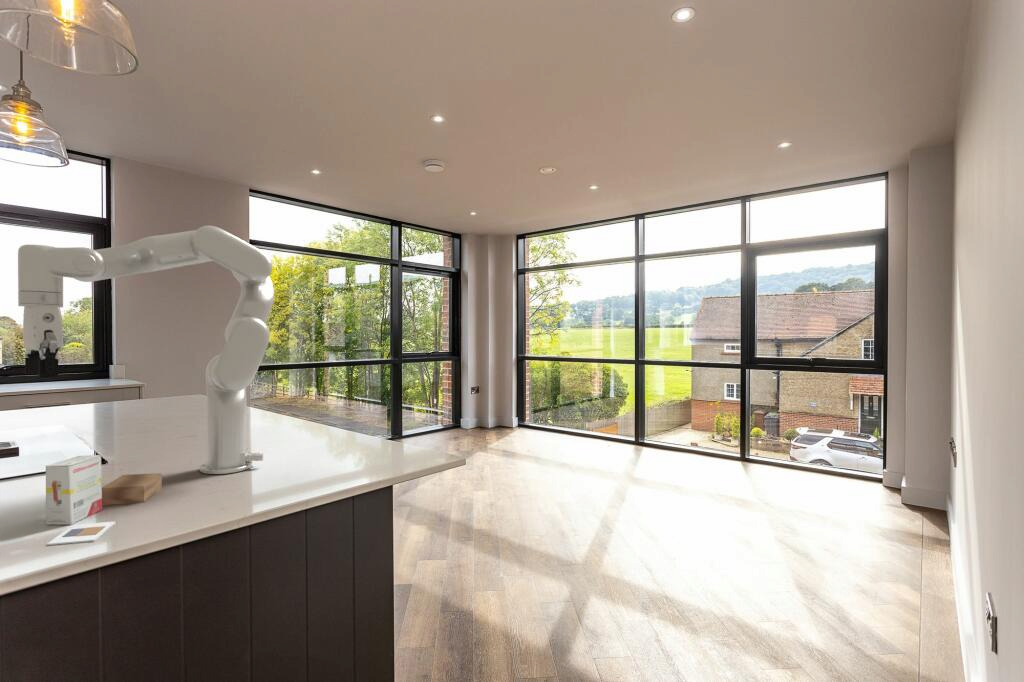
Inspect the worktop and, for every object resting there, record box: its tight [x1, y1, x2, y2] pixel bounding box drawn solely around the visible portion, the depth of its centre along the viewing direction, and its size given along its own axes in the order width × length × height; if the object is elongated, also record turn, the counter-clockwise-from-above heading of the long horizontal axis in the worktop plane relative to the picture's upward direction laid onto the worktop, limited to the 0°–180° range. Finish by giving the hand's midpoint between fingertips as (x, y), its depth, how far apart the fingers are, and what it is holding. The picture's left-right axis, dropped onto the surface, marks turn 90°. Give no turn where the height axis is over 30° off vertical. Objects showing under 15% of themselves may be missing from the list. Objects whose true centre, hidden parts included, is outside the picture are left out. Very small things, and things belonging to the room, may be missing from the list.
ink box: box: [45, 454, 103, 526], centre depth 104 cm, size 9×5×12 cm, turn 3°
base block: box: [102, 472, 163, 506], centre depth 117 cm, size 8×10×4 cm
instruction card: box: [46, 520, 117, 546], centre depth 96 cm, size 7×9×1 cm
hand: (41, 375), depth 117 cm, fingers open, 9 cm apart
